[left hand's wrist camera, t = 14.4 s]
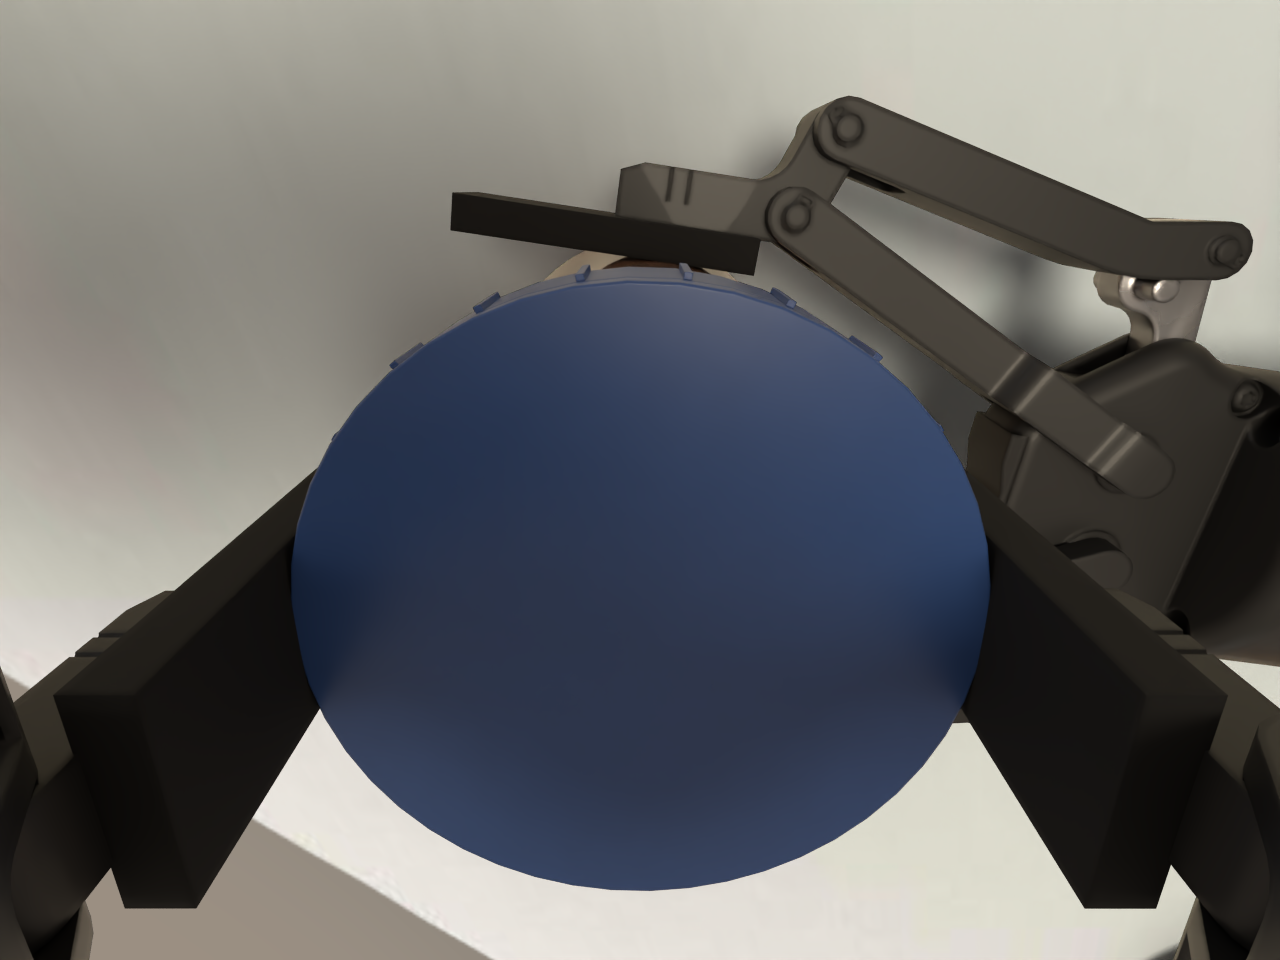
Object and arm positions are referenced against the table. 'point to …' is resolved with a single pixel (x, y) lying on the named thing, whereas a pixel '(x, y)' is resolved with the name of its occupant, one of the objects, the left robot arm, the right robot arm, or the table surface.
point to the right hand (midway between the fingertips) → (454, 408)
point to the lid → (640, 581)
